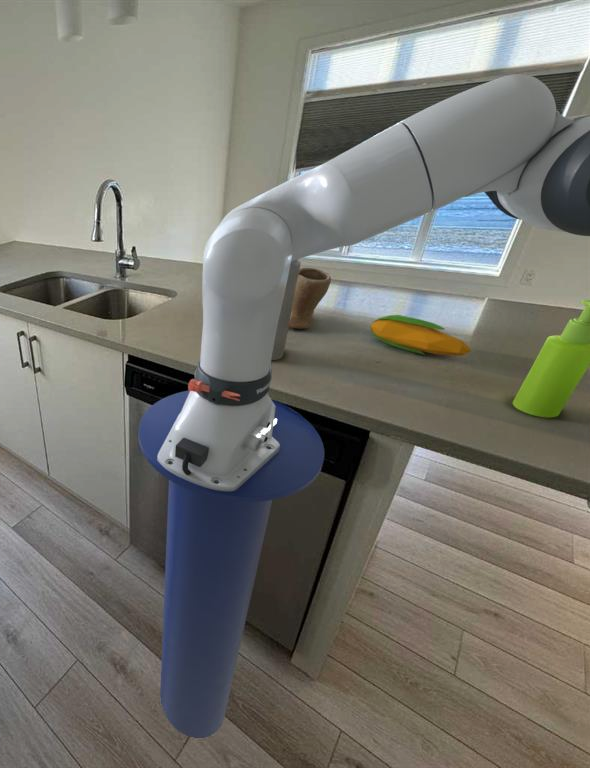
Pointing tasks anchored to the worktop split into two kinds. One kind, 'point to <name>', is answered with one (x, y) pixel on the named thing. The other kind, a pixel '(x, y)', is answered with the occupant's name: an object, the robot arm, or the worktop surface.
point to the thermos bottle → (286, 311)
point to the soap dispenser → (557, 369)
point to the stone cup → (308, 296)
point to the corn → (417, 336)
